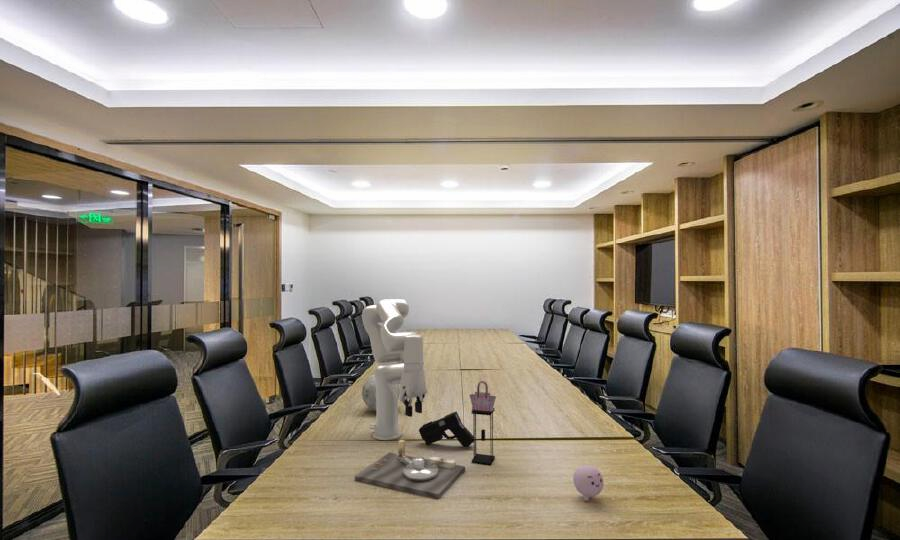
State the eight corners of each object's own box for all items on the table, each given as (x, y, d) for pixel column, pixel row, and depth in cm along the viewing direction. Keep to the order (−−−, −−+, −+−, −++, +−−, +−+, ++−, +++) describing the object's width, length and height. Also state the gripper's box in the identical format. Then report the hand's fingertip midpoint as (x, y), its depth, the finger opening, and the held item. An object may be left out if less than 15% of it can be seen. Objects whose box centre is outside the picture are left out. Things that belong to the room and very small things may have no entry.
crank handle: (444, 474, 148) (444, 453, 148) (415, 484, 141) (414, 462, 141) (410, 453, 167) (410, 434, 167) (382, 460, 160) (382, 441, 160)
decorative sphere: (381, 403, 241) (381, 367, 242) (407, 409, 230) (407, 371, 230) (354, 412, 225) (354, 373, 226) (381, 419, 214) (381, 378, 214)
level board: (354, 480, 148) (354, 468, 148) (389, 456, 168) (389, 446, 168) (438, 498, 135) (438, 486, 135) (465, 470, 155) (464, 459, 155)
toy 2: (587, 508, 129) (586, 474, 129) (567, 495, 137) (567, 463, 137) (609, 502, 132) (609, 469, 133) (589, 489, 141) (589, 458, 141)
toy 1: (475, 445, 174) (459, 410, 176) (432, 463, 177) (417, 429, 179) (477, 440, 179) (462, 407, 181) (435, 458, 182) (420, 424, 184)
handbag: (498, 458, 166) (498, 379, 166) (494, 466, 159) (493, 384, 159) (472, 454, 169) (472, 378, 170) (467, 462, 162) (466, 382, 163)
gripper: (421, 362, 175) (421, 407, 175) (390, 369, 162) (390, 417, 161) (435, 364, 170) (435, 410, 170) (404, 371, 157) (404, 421, 157)
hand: (413, 413), depth 166 cm, fingers open, 4 cm apart
